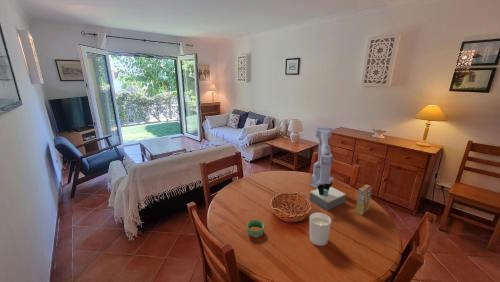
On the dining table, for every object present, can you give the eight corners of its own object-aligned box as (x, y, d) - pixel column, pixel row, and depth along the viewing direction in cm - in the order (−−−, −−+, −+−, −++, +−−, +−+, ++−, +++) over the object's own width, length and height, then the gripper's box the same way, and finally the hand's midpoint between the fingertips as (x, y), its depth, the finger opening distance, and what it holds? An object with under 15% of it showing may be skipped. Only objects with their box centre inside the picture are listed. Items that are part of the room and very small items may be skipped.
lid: (310, 192, 137) (310, 186, 136) (327, 186, 145) (327, 180, 144) (328, 202, 126) (328, 196, 124) (345, 195, 133) (346, 188, 132)
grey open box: (309, 199, 139) (310, 193, 137) (326, 193, 146) (327, 186, 145) (327, 210, 127) (327, 203, 126) (344, 202, 135) (345, 195, 133)
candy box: (361, 206, 131) (365, 183, 126) (369, 209, 127) (372, 186, 123) (354, 212, 125) (358, 188, 121) (362, 215, 122) (365, 191, 118)
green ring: (248, 239, 106) (248, 232, 105) (245, 227, 114) (245, 220, 113) (266, 237, 107) (266, 229, 106) (261, 225, 116) (261, 218, 115)
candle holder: (326, 250, 98) (328, 228, 95) (305, 242, 103) (306, 220, 100) (331, 237, 106) (333, 216, 103) (311, 230, 111) (312, 210, 108)
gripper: (322, 179, 122) (320, 200, 126) (338, 173, 129) (336, 193, 133) (312, 174, 128) (311, 194, 132) (329, 169, 135) (327, 188, 139)
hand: (323, 193), depth 133 cm, fingers open, 4 cm apart
